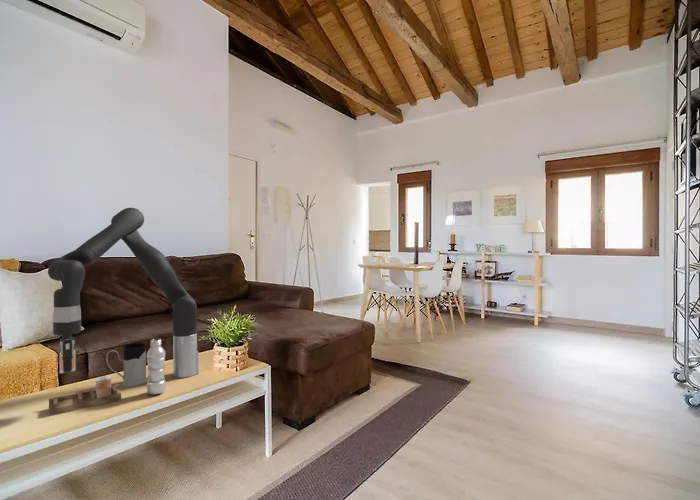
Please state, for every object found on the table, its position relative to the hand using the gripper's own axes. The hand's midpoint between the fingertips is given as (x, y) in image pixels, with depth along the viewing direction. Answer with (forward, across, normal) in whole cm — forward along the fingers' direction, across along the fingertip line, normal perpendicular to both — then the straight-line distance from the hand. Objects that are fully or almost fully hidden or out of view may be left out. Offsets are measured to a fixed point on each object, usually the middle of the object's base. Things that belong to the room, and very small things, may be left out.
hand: (67, 369), depth 123 cm
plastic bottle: (+13, +4, +26) cm, 30 cm away
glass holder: (+14, -14, +19) cm, 27 cm away
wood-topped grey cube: (0, 0, 0) cm, 1 cm away
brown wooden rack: (+13, 0, +5) cm, 14 cm away
